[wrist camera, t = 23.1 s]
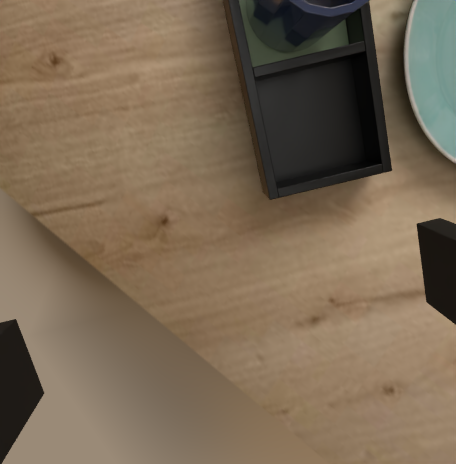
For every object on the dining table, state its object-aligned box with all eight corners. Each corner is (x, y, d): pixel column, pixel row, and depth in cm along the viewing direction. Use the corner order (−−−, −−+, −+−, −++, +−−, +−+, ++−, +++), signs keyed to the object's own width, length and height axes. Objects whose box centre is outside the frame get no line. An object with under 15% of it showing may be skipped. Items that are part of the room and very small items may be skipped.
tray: (263, 193, 40) (269, 200, 36) (212, -48, 35) (213, -70, 31) (373, 166, 40) (392, 170, 36) (337, -77, 35) (355, -104, 31)
